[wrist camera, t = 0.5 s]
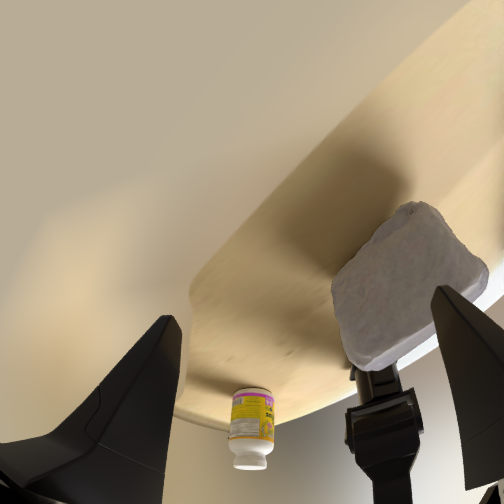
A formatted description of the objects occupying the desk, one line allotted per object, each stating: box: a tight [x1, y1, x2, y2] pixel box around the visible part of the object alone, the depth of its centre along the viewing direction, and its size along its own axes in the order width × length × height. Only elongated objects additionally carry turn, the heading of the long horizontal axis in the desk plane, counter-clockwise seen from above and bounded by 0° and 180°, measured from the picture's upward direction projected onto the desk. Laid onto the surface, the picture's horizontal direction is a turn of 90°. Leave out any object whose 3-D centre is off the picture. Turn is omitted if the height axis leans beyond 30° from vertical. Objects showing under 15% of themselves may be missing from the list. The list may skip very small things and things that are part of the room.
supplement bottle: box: [229, 388, 274, 470], centre depth 36 cm, size 7×7×13 cm
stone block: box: [331, 201, 489, 371], centre depth 18 cm, size 12×5×10 cm, turn 148°
